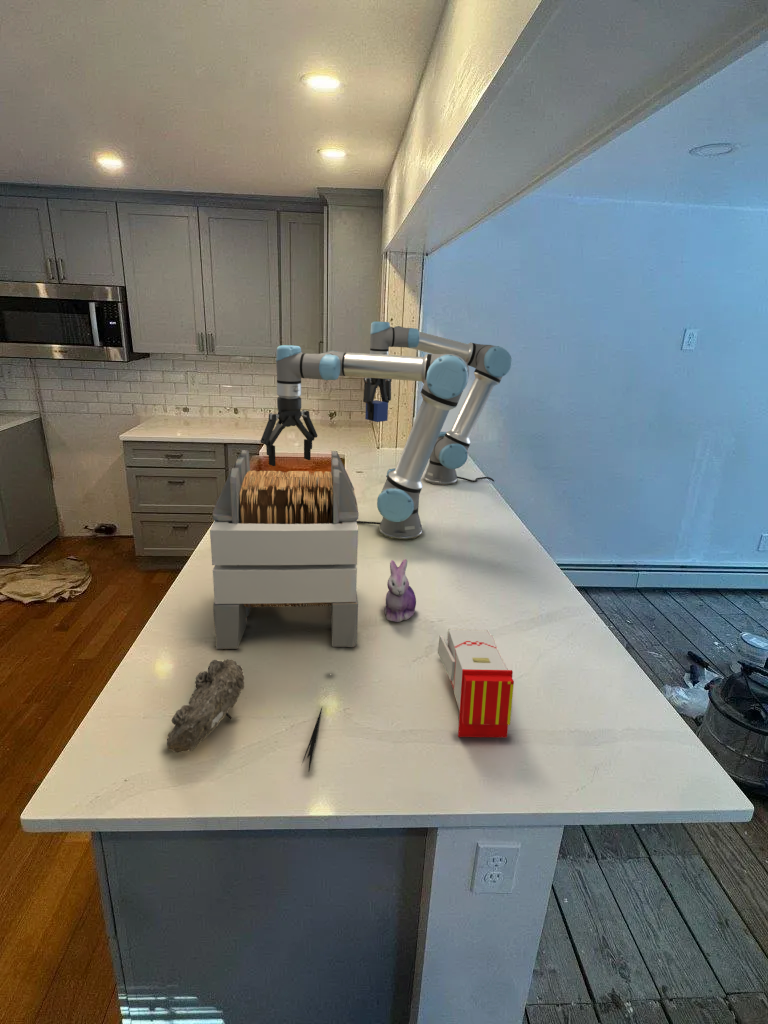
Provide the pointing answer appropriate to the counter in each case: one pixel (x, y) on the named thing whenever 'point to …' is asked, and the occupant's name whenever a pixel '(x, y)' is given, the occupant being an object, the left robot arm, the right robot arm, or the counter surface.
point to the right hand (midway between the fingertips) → (376, 418)
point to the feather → (313, 740)
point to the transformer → (285, 547)
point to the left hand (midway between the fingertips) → (290, 462)
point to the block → (379, 411)
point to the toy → (478, 682)
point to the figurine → (399, 594)
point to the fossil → (206, 705)
